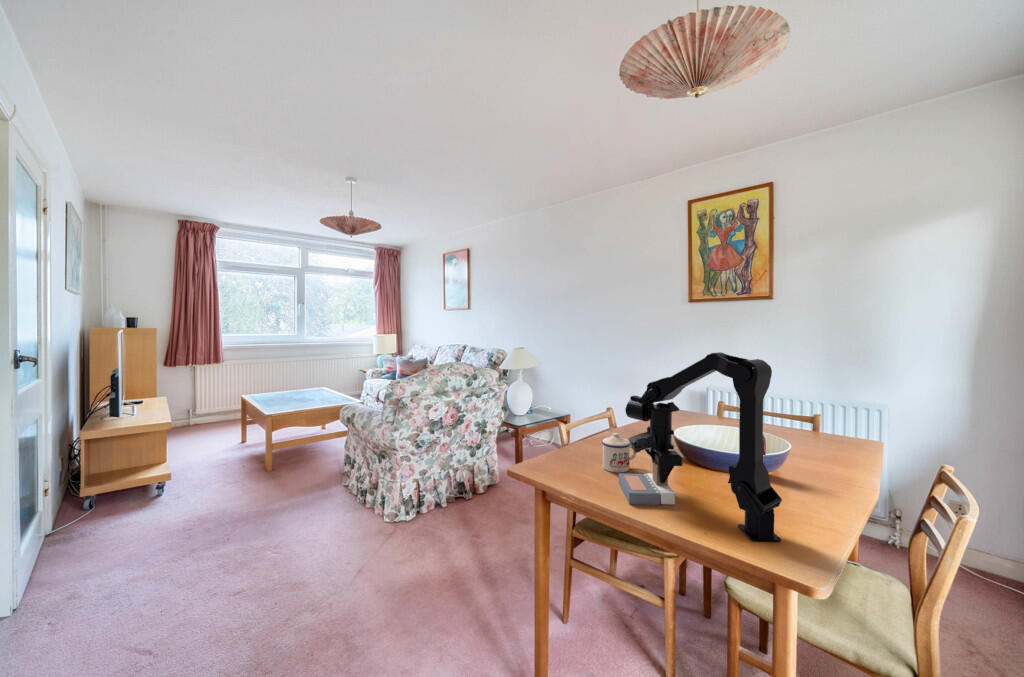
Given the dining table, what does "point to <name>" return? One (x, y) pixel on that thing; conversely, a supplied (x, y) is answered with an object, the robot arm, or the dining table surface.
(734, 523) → the dining table surface
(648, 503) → the grey flat block
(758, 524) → the robot arm
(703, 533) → the dining table surface
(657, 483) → the stub
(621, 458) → the teacup with lid
